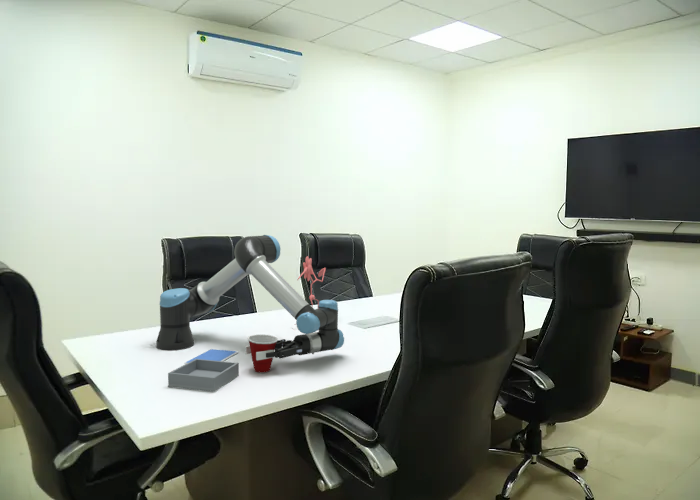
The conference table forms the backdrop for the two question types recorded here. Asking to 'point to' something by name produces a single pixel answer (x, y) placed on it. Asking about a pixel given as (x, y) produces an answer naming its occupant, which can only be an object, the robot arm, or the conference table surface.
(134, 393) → the conference table surface
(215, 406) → the conference table surface
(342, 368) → the conference table surface
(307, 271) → the figurine
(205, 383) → the bin
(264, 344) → the plastic cup
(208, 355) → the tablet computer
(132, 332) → the conference table surface
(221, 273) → the robot arm
